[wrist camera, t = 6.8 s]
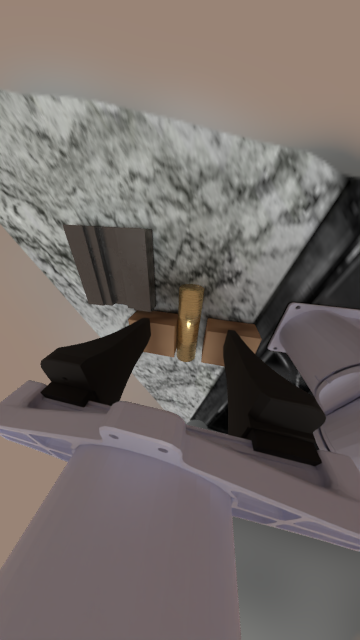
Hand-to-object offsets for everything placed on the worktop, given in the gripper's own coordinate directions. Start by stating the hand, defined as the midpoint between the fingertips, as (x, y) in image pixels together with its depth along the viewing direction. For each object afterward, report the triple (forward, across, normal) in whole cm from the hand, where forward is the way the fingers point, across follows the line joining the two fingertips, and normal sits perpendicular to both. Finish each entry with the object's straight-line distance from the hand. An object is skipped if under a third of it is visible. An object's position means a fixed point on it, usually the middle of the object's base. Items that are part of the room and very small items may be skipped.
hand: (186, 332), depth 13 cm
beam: (+8, 0, +6) cm, 10 cm away
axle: (+8, 0, +4) cm, 9 cm away
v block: (+8, +11, -3) cm, 14 cm away
